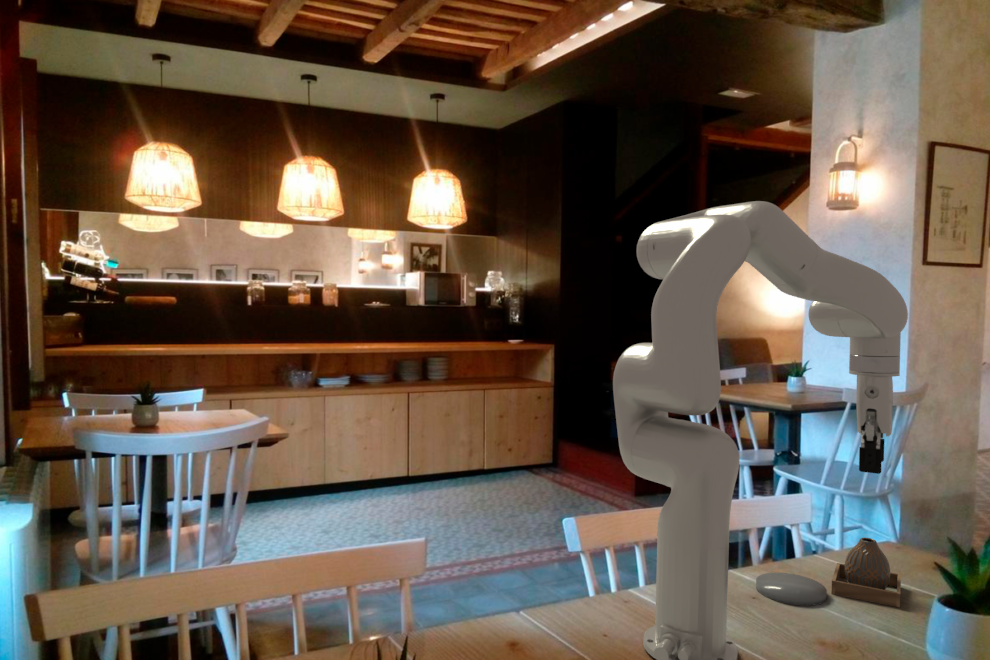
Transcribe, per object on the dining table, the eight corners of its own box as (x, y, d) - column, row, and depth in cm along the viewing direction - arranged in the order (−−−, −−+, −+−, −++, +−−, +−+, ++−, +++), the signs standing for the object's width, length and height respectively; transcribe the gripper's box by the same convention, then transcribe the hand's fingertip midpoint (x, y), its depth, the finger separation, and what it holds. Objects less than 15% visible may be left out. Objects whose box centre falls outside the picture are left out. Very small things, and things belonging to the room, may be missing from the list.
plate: (822, 611, 111) (823, 603, 111) (750, 595, 117) (750, 588, 117) (829, 588, 121) (829, 581, 121) (762, 574, 126) (762, 568, 126)
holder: (899, 607, 113) (900, 594, 113) (831, 593, 118) (831, 580, 118) (900, 586, 122) (900, 574, 122) (836, 574, 127) (837, 562, 127)
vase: (895, 600, 116) (897, 548, 116) (850, 596, 117) (852, 544, 117) (881, 584, 123) (883, 535, 123) (839, 581, 124) (840, 531, 124)
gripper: (898, 371, 109) (895, 480, 110) (901, 363, 124) (898, 459, 125) (844, 369, 113) (842, 474, 114) (853, 361, 128) (851, 454, 129)
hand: (871, 466), depth 119 cm, fingers open, 9 cm apart
